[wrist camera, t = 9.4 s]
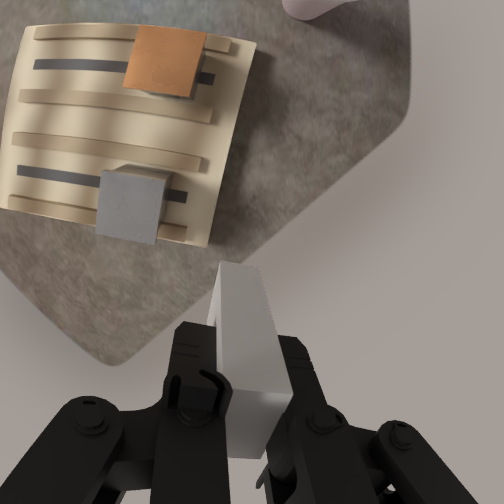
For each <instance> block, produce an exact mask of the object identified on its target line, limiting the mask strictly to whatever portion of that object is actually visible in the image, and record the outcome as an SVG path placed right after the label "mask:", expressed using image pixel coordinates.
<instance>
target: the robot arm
mask: <svg viewBox="0 0 504 504" xmlns="http://www.w3.org/2000/svg"><path fill="white" fill-rule="evenodd" d="M265 449H266V452H267V458H268V464H267V465H266V467H265V469H264V470H263V472H262V474H261V475H260V477H259V479H258V480H257V482H256V488H257V489H259V488H260V487H261V486H262V484H263V483H264V486H265V493H266V499H267V504H478V503H477V502H476V501H475V499H474V498H473V497H472V496H471V494H470V493H469V492H468V491H467V489H465V487H464V486H463V485H462V483H461V482H460V481H459V480H458V479H457V477H456V476H455V475H454V474H453V473H452V472H451V470H450V469H449V468H448V467H447V466H446V465H445V463H444V462H443V461H442V459H441V458H440V457H439V456H438V455H437V454H436V452H435V451H434V450H433V449H432V447H431V446H430V445H429V444H428V443H427V442H426V440H425V439H424V438H423V437H422V436H421V434H420V433H419V432H418V431H417V430H416V429H415V428H414V427H412V426H411V425H409V424H407V423H405V422H402V421H397V420H393V421H387V422H386V423H384V424H383V425H381V427H380V428H379V429H378V431H372V430H367V429H362V428H358V427H354V426H351V425H349V424H348V422H347V420H346V418H345V417H344V415H343V414H342V413H341V412H339V411H338V410H337V409H336V408H334V407H332V406H329V405H327V402H326V400H325V397H324V394H323V392H322V389H321V386H320V384H319V381H318V378H317V376H316V373H315V371H314V368H313V365H312V362H311V361H310V357H309V354H308V351H307V349H306V347H305V346H304V345H303V344H302V343H301V342H300V341H299V339H298V338H297V337H290V336H283V335H282V336H281V335H277V332H276V329H275V325H274V321H273V318H272V314H271V311H270V307H269V303H268V299H267V296H266V292H265V288H264V285H263V281H262V277H261V274H260V271H259V268H258V267H253V266H247V265H242V264H237V263H232V262H226V261H221V260H220V264H219V269H218V273H217V278H216V282H215V287H214V291H213V296H212V300H211V305H210V310H209V314H208V319H207V325H202V324H197V323H191V322H185V321H183V322H182V323H181V324H180V326H178V327H177V328H176V330H175V333H174V338H173V344H172V350H171V355H170V362H169V367H168V373H167V376H166V378H165V380H164V385H163V395H162V398H161V399H160V400H159V401H158V402H157V403H156V404H154V405H153V406H151V407H148V408H146V409H142V410H135V411H119V410H118V409H117V407H116V406H115V405H113V404H112V403H110V402H109V401H107V400H105V399H102V398H99V397H95V396H81V397H78V398H75V399H71V400H70V401H69V402H68V403H66V404H65V405H64V406H63V407H62V408H61V409H60V411H59V412H58V413H57V414H56V416H55V417H54V418H53V419H52V421H51V422H50V423H49V424H48V426H47V427H46V428H45V429H44V431H43V432H42V433H41V434H40V436H39V437H38V438H37V439H36V441H35V442H34V443H33V445H32V446H31V447H30V448H29V450H28V451H27V452H26V454H25V455H24V456H23V458H22V459H21V460H20V461H19V463H18V464H17V465H16V467H15V468H14V469H13V471H12V472H11V474H10V475H9V476H8V477H7V479H6V480H5V482H4V483H3V484H2V486H1V487H0V504H120V503H121V501H122V499H123V497H124V495H125V493H126V491H130V490H141V489H151V496H150V504H231V501H230V489H229V474H228V459H227V457H230V458H246V459H261V457H262V455H263V453H264V451H265ZM390 484H392V485H393V487H394V488H395V491H391V490H389V489H388V488H387V487H388V486H389V485H390Z"/></svg>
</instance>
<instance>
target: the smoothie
mask: <svg viewBox="0 0 504 504" xmlns="http://www.w3.org/2000/svg"><path fill="white" fill-rule="evenodd" d="M351 1H357V0H282V5H283V8H284V9H285V11H286V12H287V13H288V14H289V15H290V16H292V17H293V18H296V19H298V20H312V19H314V18H316V17H318V16H320V15H321V14H323V13H325V12H327V11H329V10H331V9H333V8H335V7H337V6H339V5H341V4H343V3H345V2H351Z"/></svg>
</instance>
